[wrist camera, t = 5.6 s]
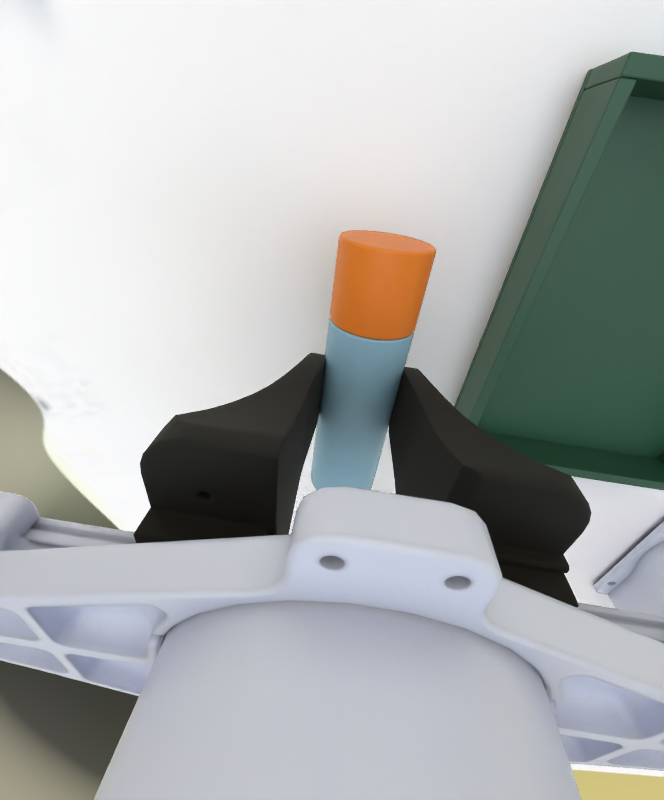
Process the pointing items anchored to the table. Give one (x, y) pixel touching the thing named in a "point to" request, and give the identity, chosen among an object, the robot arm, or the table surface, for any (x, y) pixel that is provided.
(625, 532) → the table surface
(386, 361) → the glue stick
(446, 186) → the table surface
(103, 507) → the table surface
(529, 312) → the tray
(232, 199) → the table surface
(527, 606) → the robot arm
